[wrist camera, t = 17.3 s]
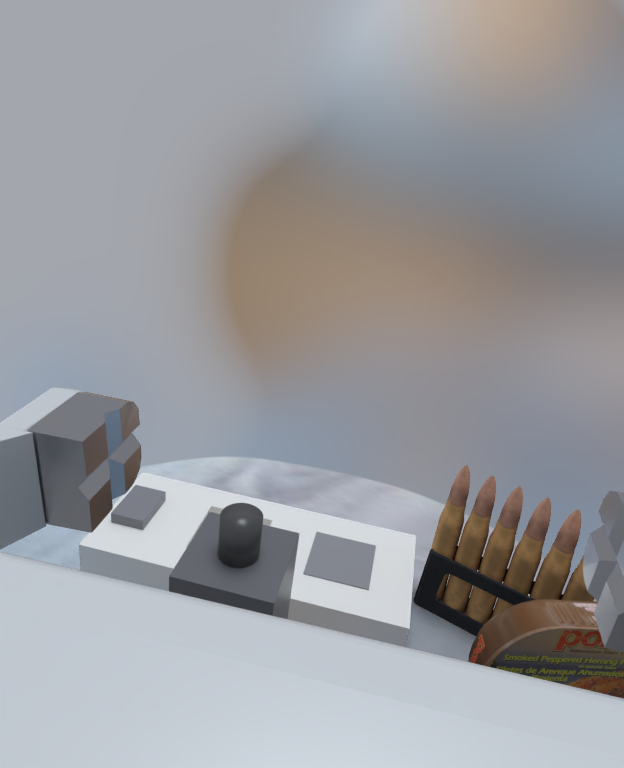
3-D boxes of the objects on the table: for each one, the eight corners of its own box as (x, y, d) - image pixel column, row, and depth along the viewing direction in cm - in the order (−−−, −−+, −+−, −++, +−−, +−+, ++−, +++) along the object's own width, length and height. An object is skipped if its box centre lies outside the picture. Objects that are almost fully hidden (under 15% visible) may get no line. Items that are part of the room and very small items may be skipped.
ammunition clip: (412, 602, 42) (448, 466, 37) (422, 587, 44) (457, 454, 39) (561, 681, 38) (626, 537, 33) (566, 662, 39) (628, 521, 34)
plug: (282, 713, 32) (315, 494, 26) (254, 810, 28) (286, 574, 21) (195, 687, 33) (206, 469, 27) (153, 779, 28) (155, 541, 22)
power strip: (405, 576, 45) (418, 527, 43) (397, 673, 37) (412, 619, 35) (143, 512, 48) (142, 463, 46) (81, 589, 40) (78, 534, 38)
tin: (463, 735, 34) (500, 632, 30) (449, 686, 36) (482, 586, 33) (703, 744, 35) (766, 646, 31) (671, 696, 38) (726, 602, 34)
